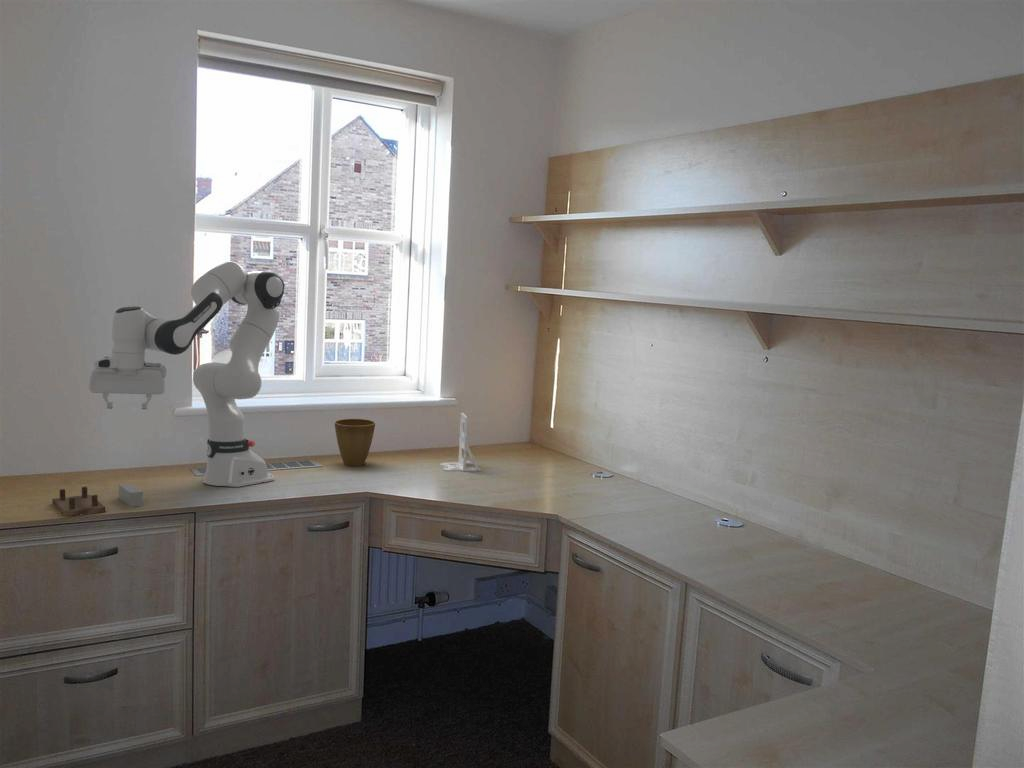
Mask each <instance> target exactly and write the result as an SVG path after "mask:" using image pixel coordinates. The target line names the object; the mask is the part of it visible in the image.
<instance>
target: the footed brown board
mask: <svg viewBox="0 0 1024 768" xmlns="http://www.w3.org/2000/svg"><path fill="white" fill-rule="evenodd" d="M51 500H52V501H51V502H52V503H53V504H54V505H55V506H56V507H57V508H58V509H59V510H60V511H61V512H62V513H63V514H64V515H65V516H71V517H75V516H74V515H78V516H81V515H80V514H86V515H89V514H88V513H94V514H98V513H97V512H102V513H106V506H105V505H104V504H102V503H101V502H100V501H99V498H98V494H92V495H91V494H88V486H81V495H76V496H75V495H74V496H66V489H65V488H60V489H59V497H56V498H52V499H51ZM53 504H52V505H53ZM54 505H53V506H54ZM55 506H54V507H55ZM56 507H55V508H56ZM57 508H56V509H57ZM58 509H57V510H58ZM59 510H58V511H59ZM60 511H59V512H60ZM61 512H60V513H61ZM62 513H61V514H62ZM63 514H62V515H63ZM64 515H63V516H64ZM72 515H73V516H72ZM65 516H64V517H65Z"/></svg>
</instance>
